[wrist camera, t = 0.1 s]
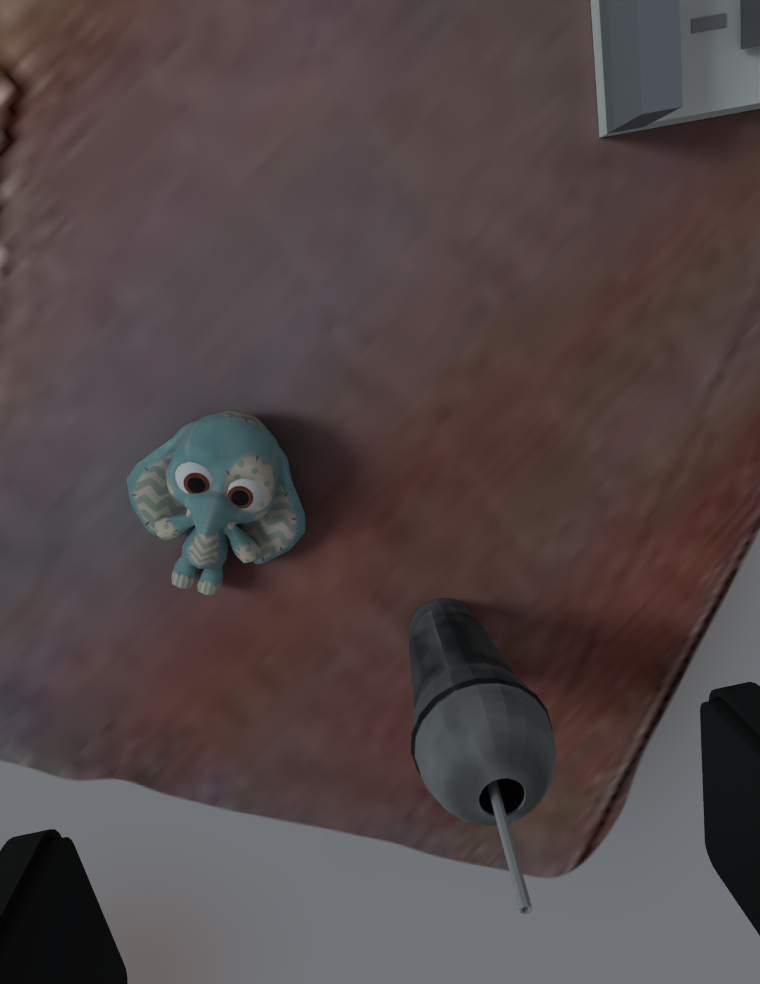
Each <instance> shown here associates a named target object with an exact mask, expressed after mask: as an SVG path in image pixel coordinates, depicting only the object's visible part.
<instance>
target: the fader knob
mask: <svg viewBox="0 0 760 984" xmlns="http://www.w3.org/2000/svg"><path fill="white" fill-rule="evenodd" d="M740 17H741V49H747V48H753V47H758V46H760V0H740Z"/></svg>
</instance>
